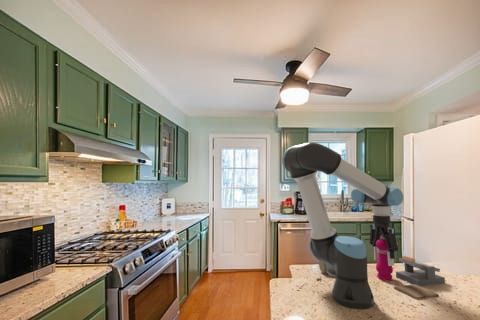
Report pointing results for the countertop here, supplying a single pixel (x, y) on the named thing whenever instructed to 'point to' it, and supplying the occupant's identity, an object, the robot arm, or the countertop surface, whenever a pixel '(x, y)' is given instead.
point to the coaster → (416, 291)
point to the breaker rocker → (415, 263)
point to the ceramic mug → (327, 268)
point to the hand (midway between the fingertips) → (383, 262)
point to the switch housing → (420, 276)
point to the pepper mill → (383, 261)
